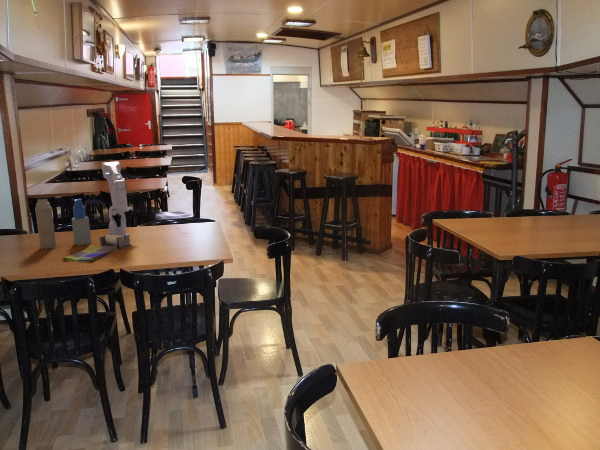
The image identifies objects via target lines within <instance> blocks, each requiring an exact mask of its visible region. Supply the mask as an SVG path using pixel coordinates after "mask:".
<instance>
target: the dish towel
mask: <svg viewBox="0 0 600 450" xmlns="http://www.w3.org/2000/svg"><path fill="white" fill-rule="evenodd" d="M117 249H118V247H115V246H100V245H95V244H94V245H90V246H88V247H87V248H85V249H83V250H81V251H79V252H76V253H74V254H71V255H68V256H63V257H62V260H64V261H65V260H66V261H65V262H72V261H74V262H73V263H87V264H89V263H93V262H96V261H97V260H100V259H102V258H105V257H106V256H110V255H112V254H114V253H116V252H118V251H119V250H117Z"/></svg>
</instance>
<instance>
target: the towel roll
mask: <svg viewBox="0 0 600 450" xmlns="http://www.w3.org/2000/svg"><path fill="white" fill-rule="evenodd" d="M107 234H108V235H107ZM107 234H106V235H105V241H106V243H109V244H117V240H116V238H119V237H122V241H123V242H125V239H124V237H123V236H119V235H110V234H109V233H107Z"/></svg>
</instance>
